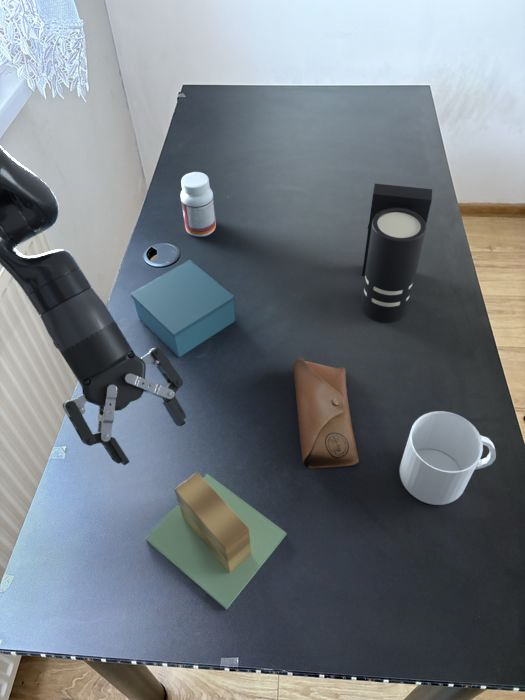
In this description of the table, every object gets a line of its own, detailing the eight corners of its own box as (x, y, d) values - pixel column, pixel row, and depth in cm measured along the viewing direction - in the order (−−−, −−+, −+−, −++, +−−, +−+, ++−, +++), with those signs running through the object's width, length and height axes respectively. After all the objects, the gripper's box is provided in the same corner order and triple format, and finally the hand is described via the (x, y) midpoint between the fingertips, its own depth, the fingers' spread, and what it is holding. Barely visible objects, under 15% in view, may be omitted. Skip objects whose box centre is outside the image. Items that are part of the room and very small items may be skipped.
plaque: (251, 554, 76) (249, 528, 70) (230, 573, 74) (225, 548, 68) (203, 500, 81) (197, 471, 75) (182, 516, 79) (174, 489, 73)
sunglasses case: (363, 464, 84) (342, 444, 79) (319, 479, 86) (296, 460, 82) (345, 364, 95) (325, 342, 91) (306, 380, 98) (286, 359, 94)
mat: (226, 610, 72) (226, 608, 72) (145, 540, 78) (145, 538, 78) (286, 534, 78) (286, 532, 78) (207, 475, 84) (207, 473, 83)
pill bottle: (187, 218, 121) (180, 169, 113) (217, 218, 121) (212, 169, 112) (183, 237, 117) (175, 189, 109) (214, 238, 117) (209, 189, 108)
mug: (399, 502, 80) (411, 468, 73) (398, 444, 86) (408, 408, 79) (491, 511, 79) (512, 478, 72) (483, 452, 85) (502, 416, 78)
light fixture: (353, 318, 102) (364, 236, 89) (362, 265, 111) (372, 183, 97) (411, 326, 101) (431, 244, 87) (415, 271, 109) (434, 189, 96)
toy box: (237, 321, 103) (234, 296, 98) (178, 359, 98) (173, 334, 93) (193, 284, 109) (189, 259, 104) (136, 318, 104) (130, 293, 99)
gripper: (36, 363, 67) (113, 481, 70) (143, 302, 73) (209, 413, 76) (30, 365, 73) (100, 473, 76) (127, 309, 79) (189, 411, 82)
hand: (154, 443), depth 76 cm, fingers open, 8 cm apart
